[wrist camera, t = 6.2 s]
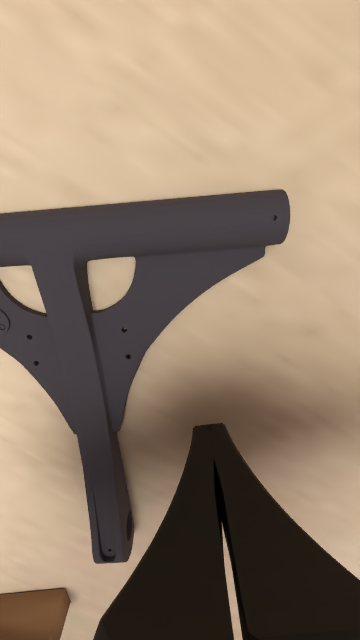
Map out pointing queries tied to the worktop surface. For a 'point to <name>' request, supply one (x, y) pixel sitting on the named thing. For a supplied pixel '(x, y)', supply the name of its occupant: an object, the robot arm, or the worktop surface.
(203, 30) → the worktop surface
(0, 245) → the bracket
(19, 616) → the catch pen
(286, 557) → the robot arm
